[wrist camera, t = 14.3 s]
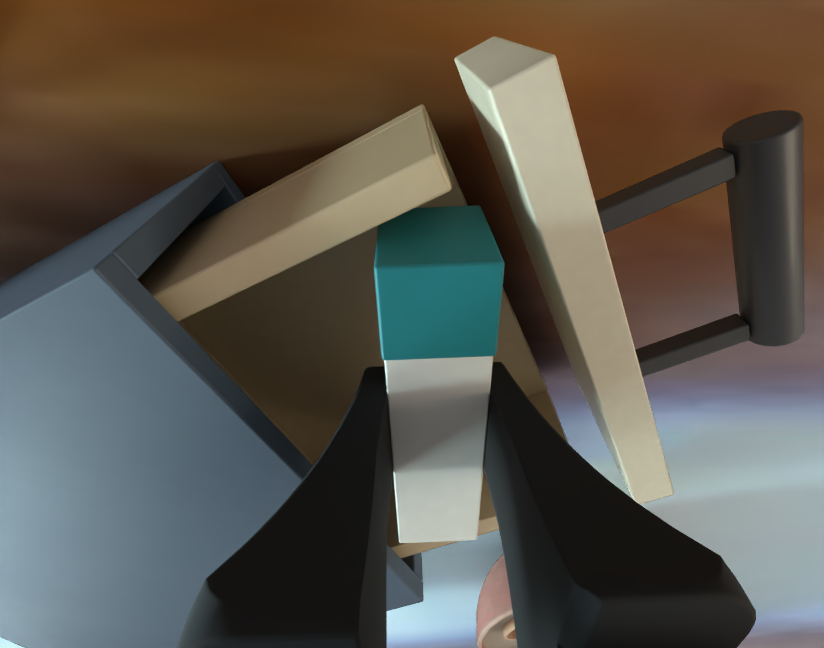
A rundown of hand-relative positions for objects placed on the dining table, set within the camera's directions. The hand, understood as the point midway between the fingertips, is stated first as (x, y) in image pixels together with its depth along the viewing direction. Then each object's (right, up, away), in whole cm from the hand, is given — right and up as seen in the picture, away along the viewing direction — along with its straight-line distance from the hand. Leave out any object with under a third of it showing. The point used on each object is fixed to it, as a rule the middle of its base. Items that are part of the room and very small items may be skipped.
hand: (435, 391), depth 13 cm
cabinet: (-10, -1, +7) cm, 12 cm away
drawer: (+1, +3, +4) cm, 5 cm away
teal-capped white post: (0, +1, +1) cm, 1 cm away
